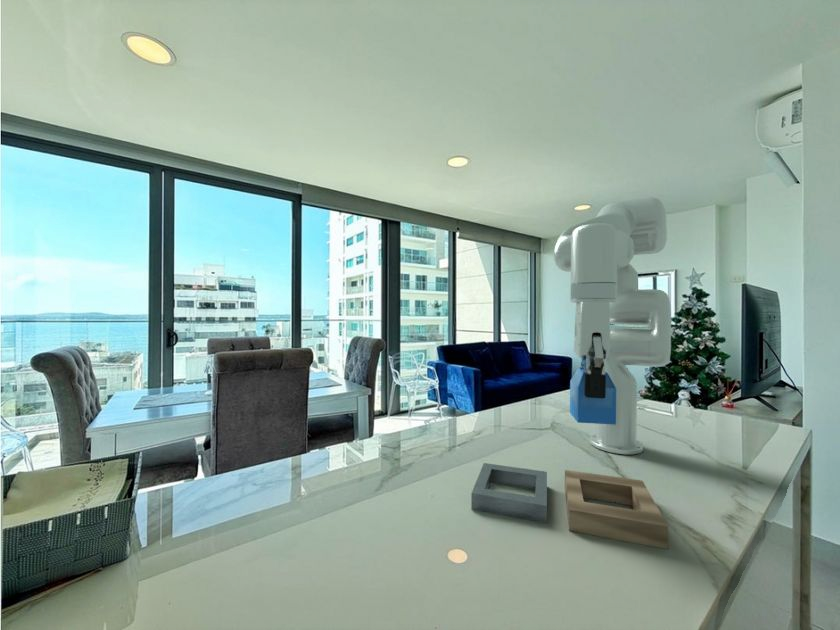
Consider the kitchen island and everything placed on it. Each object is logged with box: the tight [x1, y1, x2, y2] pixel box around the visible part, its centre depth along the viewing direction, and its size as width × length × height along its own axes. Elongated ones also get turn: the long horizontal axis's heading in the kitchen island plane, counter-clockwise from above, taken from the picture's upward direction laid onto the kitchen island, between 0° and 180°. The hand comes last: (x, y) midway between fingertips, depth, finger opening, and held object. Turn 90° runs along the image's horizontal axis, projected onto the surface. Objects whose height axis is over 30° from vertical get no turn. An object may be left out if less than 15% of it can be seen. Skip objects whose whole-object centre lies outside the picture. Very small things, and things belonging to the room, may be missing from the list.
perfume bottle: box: [569, 354, 616, 425], centre depth 67 cm, size 6×6×12 cm
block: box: [470, 462, 548, 524], centre depth 72 cm, size 14×13×3 cm
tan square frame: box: [564, 469, 669, 550], centre depth 66 cm, size 16×14×4 cm
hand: (591, 392), depth 67 cm, fingers closed on perfume bottle, 6 cm apart
